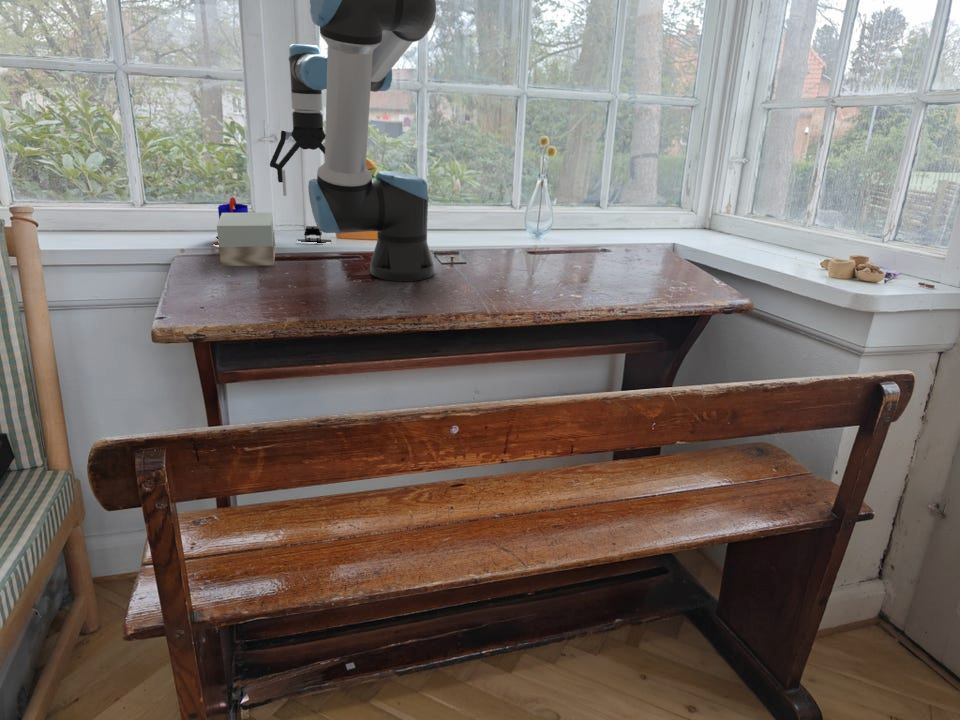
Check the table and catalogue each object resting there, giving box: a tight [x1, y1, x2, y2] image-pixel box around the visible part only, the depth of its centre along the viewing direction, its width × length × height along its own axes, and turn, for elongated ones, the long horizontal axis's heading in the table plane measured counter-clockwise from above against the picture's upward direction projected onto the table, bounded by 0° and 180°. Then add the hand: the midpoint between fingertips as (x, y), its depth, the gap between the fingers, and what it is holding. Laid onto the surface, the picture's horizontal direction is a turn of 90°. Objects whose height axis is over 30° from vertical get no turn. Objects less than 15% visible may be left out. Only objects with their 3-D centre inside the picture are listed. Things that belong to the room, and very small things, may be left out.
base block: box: [218, 231, 276, 267], centre depth 163 cm, size 12×15×5 cm
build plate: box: [296, 225, 332, 243], centre depth 181 cm, size 12×7×5 cm, turn 100°
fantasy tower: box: [213, 196, 249, 245], centre depth 175 cm, size 12×12×12 cm
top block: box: [216, 212, 274, 247], centre depth 161 cm, size 12×15×5 cm
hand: (311, 195), depth 177 cm, fingers open, 13 cm apart
